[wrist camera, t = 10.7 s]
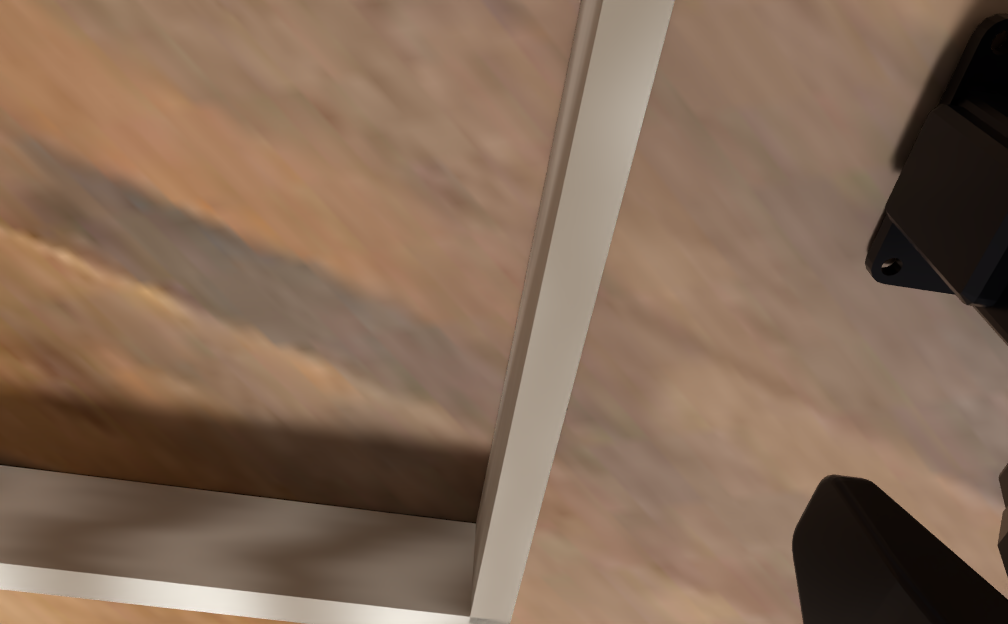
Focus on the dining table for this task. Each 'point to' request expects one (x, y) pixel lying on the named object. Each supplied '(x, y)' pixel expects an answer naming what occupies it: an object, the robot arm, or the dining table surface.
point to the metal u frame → (362, 533)
